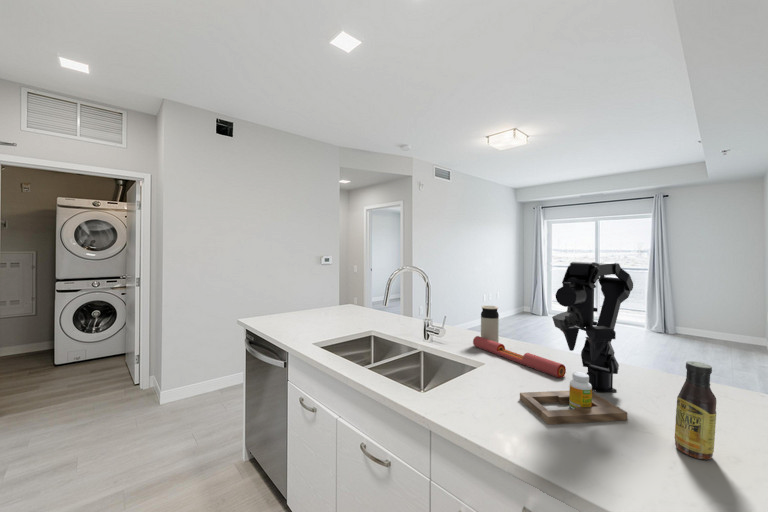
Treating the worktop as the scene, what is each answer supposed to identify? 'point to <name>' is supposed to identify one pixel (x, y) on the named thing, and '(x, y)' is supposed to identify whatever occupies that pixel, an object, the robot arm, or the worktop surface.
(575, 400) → the supplement bottle
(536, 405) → the brown wooden frame
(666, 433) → the worktop surface
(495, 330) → the travel mug
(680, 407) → the sauce bottle
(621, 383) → the worktop surface
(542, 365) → the blood vessel
